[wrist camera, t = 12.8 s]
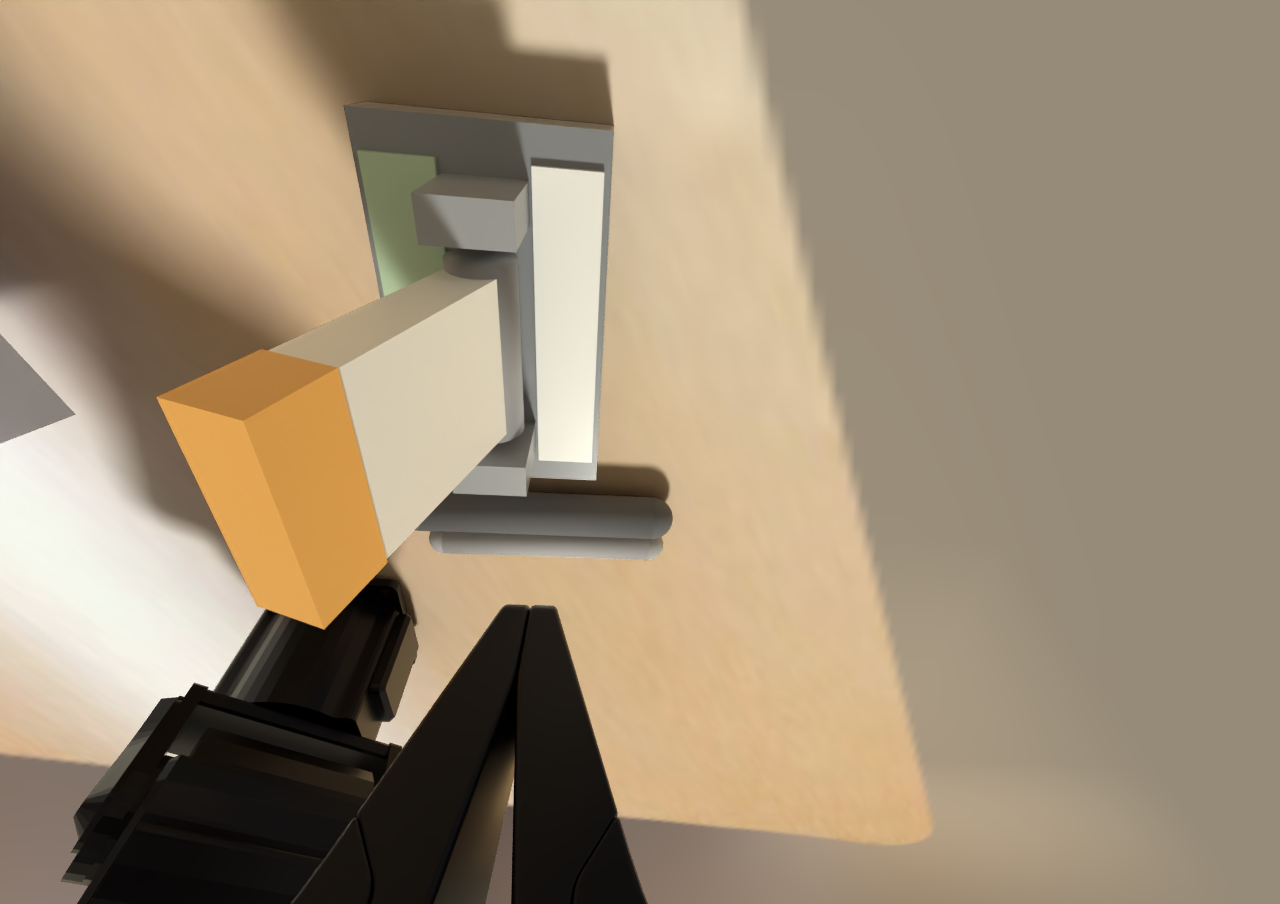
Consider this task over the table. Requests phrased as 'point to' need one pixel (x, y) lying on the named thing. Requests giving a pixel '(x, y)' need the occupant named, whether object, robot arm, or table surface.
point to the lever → (355, 431)
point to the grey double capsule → (550, 525)
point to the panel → (508, 222)
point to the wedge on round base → (25, 397)
